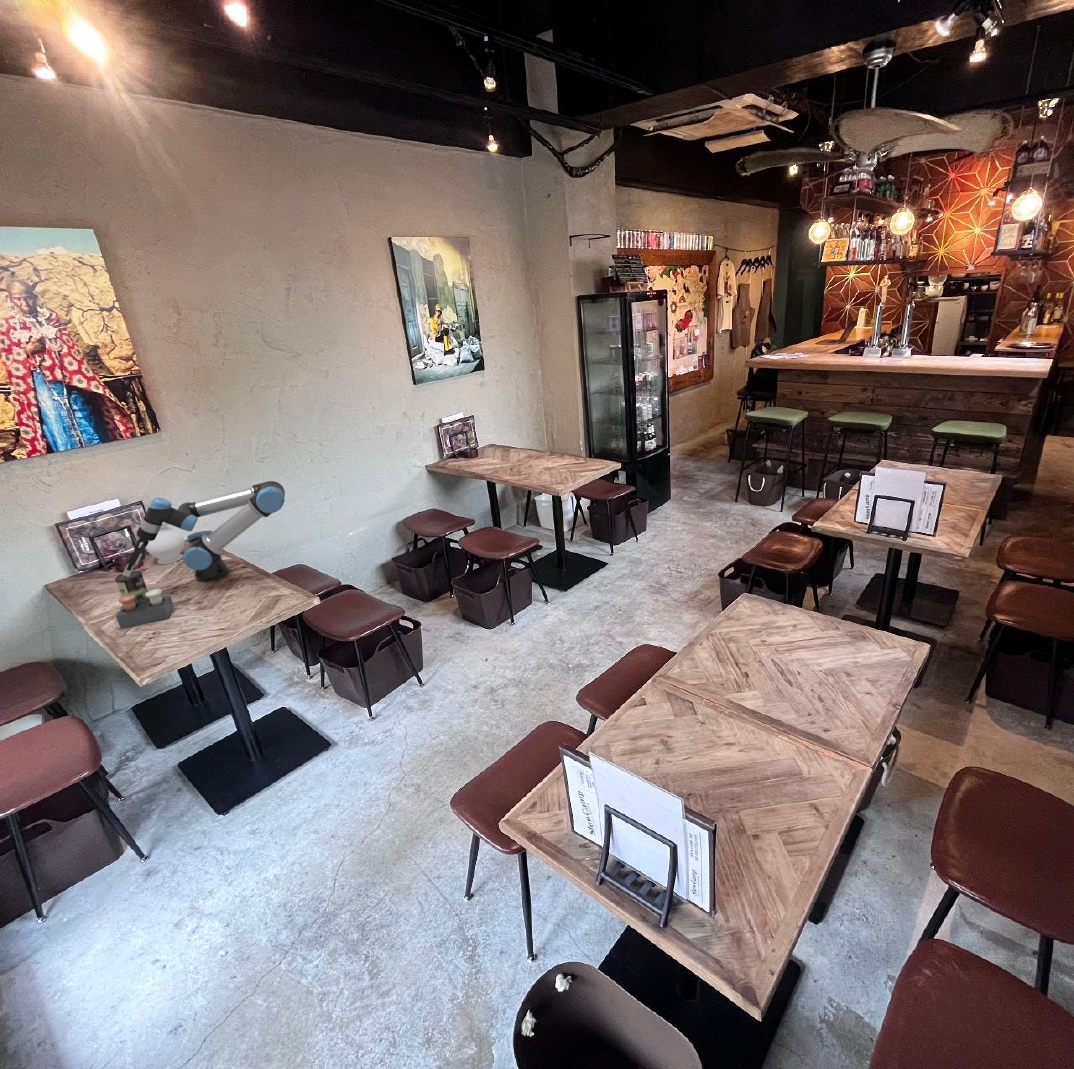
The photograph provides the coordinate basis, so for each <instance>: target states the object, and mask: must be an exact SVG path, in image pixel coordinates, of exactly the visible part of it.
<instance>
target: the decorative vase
mask: <svg viewBox="0 0 1074 1069" xmlns="http://www.w3.org/2000/svg"><path fill="white" fill-rule="evenodd" d="M168 525H169V524H167V523H164V522H163V524H162V526H161V528H160V530H159V532H158V534H157V536H156V538H155V540H153V541H149V543H148V545H147V546H146V547H145V550H146V551H147V552H148V553H149V554H151V556H153V557H155V558H156V559H157V560H156V563H157V564H159V565H167V564H172V563H175V562H178V561H181V560H182V559H183V556H184V553H183V554H182V553H181V552H182V550H183V549H184V546H185V542H186V540H185V538H184V536H183V535H182V534H181V533H180V532H178V531H177V530H175V529H174V528H171V527H169V526H168Z"/></svg>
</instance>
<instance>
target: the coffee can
mask: <svg viewBox="0 0 1074 1069" xmlns="http://www.w3.org/2000/svg"><path fill="white" fill-rule="evenodd" d="M122 574H123V573H122ZM122 574H119V575H118V576H116V577H115V578H114V582H115V583H116V585H117V588H118V591H119V593H120V596H121V597H122V596H124V595H128V594H135V597H136V598H135V599H134V601H135V602H137V601H142V600H147V599H149V598H147V597H146V595H145V593H146V592H148V591H149V590H148V588H147V585H146V581H145V579H144V576H143V573H142V571H140V570H132V572H131V574H130V576H129V577H127V576H124V575H122Z"/></svg>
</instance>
